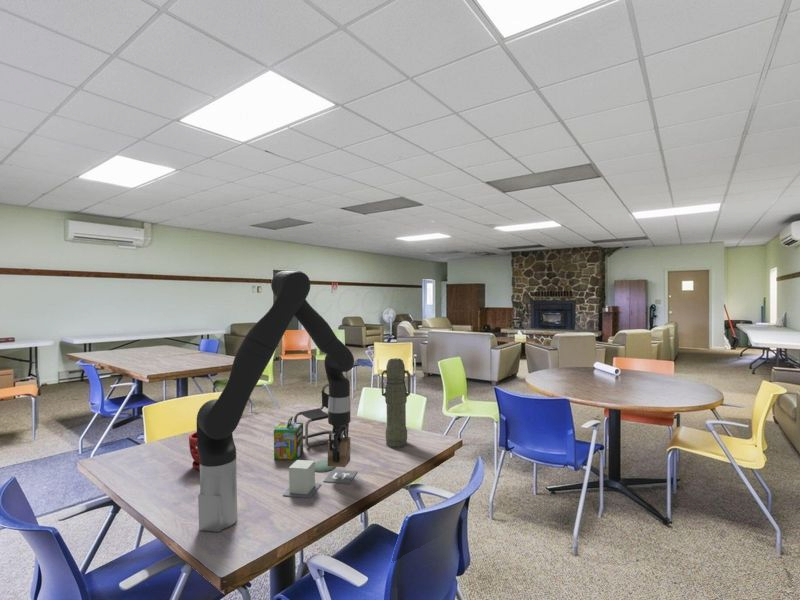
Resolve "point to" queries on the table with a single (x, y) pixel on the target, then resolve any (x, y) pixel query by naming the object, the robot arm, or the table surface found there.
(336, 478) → the tile
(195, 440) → the plant pot
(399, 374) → the thermos
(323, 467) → the rubber coaster
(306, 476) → the sage block
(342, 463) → the walnut block
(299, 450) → the chalk box
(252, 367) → the robot arm
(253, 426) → the table surface
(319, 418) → the chair
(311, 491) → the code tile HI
